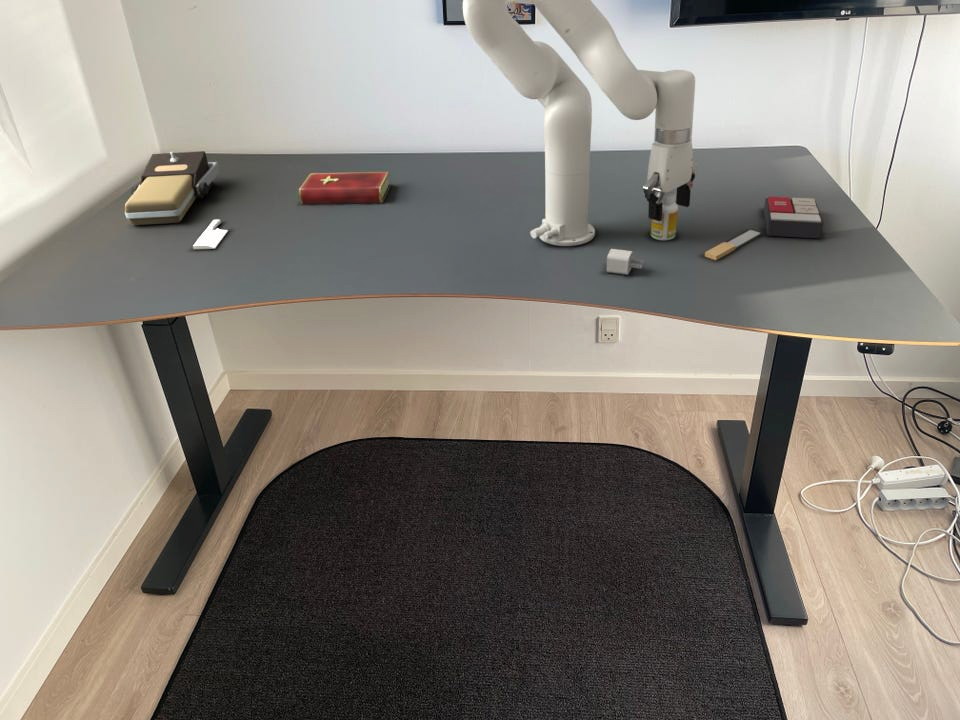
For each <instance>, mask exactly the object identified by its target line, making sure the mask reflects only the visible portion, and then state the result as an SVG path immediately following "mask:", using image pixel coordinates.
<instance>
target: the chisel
mask: <svg viewBox="0 0 960 720" xmlns="http://www.w3.org/2000/svg"><path fill="white" fill-rule="evenodd" d="M761 236H762V233H761V232H759V231H756V230H752V229H749V230H747V231H746V232H744V233H741V234H740V235H738V236H736V237H734V238H733V239H731V240H729V241H728V242H726V241H723V242H721V243H719V244H718V245H716V246H714V247H712V248H710V249H708V250H706V251H705V252H704V257H705V258H708V259H711V260H714V261H717V260H720V259H721V258H724V256H725V257H726V256H727V255H728V254H730V253H732V252H734V251H736V250H737V249H738V248H740V247H742V246H744V245H746V244H747V243H749V242H752V241H753V240H755V239H757V238H758V237H761Z"/></svg>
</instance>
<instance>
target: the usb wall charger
mask: <svg viewBox="0 0 960 720" xmlns="http://www.w3.org/2000/svg"><path fill="white" fill-rule="evenodd" d="M633 252H634V251H632V250H625V249H615V248H611V249H610V250H609V251H608V254H607V257H606V273H607V274H608V273H610V274H617V275H622V276H623V275H624V276H629V274H630V272H631V271H632V269H643V266H642V265H644V264H645V260H641V259H635V258H633V254H634V253H633Z"/></svg>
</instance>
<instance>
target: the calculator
mask: <svg viewBox="0 0 960 720" xmlns="http://www.w3.org/2000/svg"><path fill="white" fill-rule="evenodd" d="M763 215H764V220H765V233H766V236H769V237H784V238H785V237H786V238H787V237H788V238H789V237H790V238H803V239H821V237H822V231H823V228H824V227H823V226H824V221H823V218H822V215H821V212H820V209H819V206H818V203H817V201H816V199H815V198H809V197H792V198H790V196H789V197H787V196H768V197H766V198H765V199H764V205H763Z"/></svg>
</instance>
